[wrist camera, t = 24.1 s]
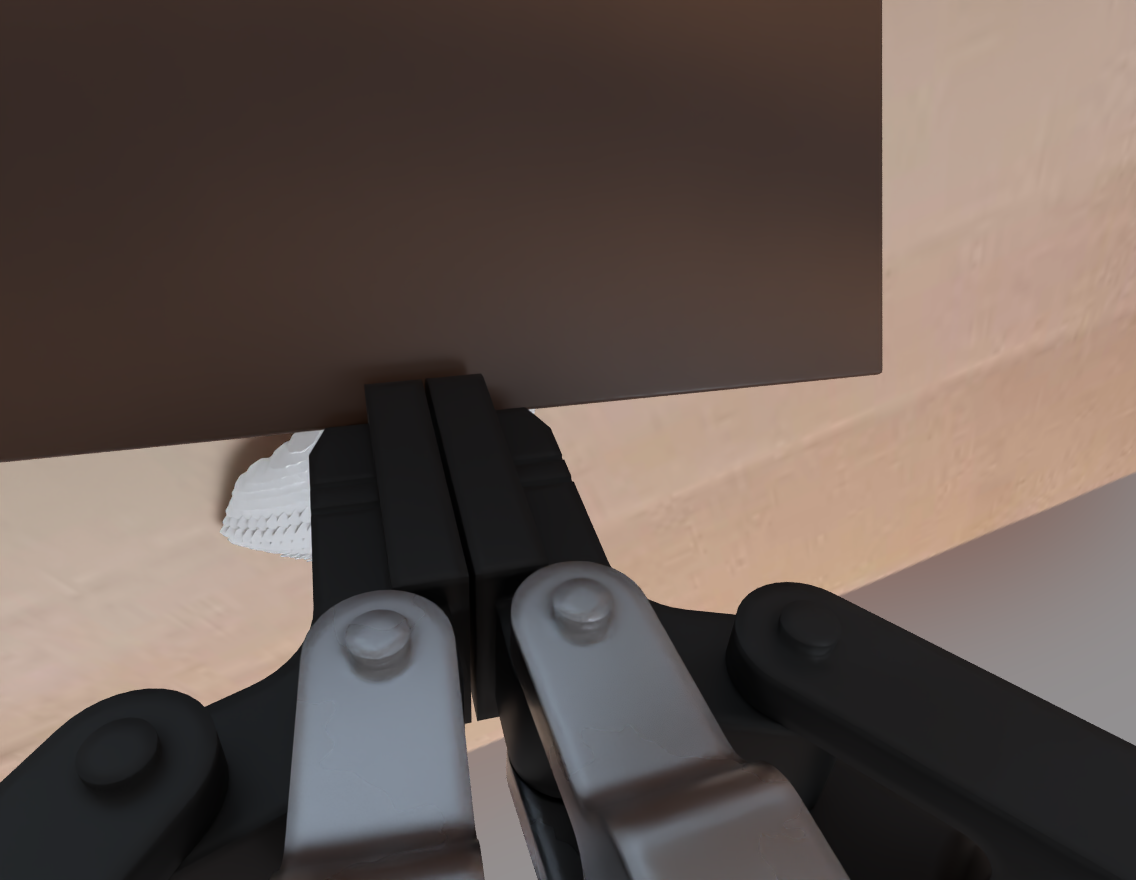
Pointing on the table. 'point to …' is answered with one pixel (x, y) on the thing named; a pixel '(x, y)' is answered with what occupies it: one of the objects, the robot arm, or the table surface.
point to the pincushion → (275, 501)
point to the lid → (425, 207)
